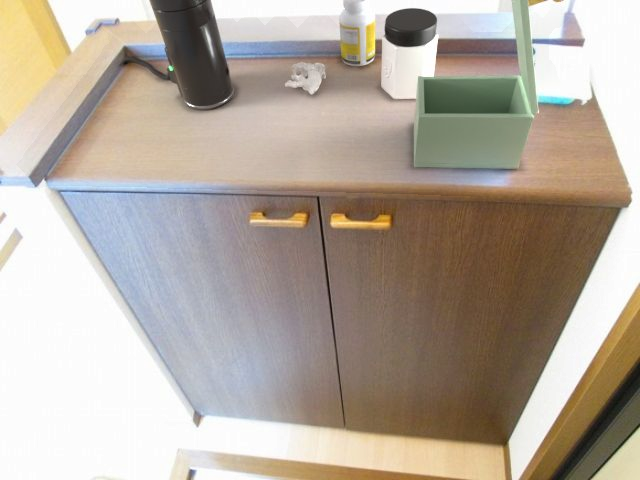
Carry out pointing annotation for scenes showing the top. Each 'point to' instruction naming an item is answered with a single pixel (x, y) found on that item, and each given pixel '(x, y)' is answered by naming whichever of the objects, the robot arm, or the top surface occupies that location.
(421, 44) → the jar
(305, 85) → the pelvis model
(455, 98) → the chest
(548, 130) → the top surface
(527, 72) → the lid
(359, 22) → the pill bottle
